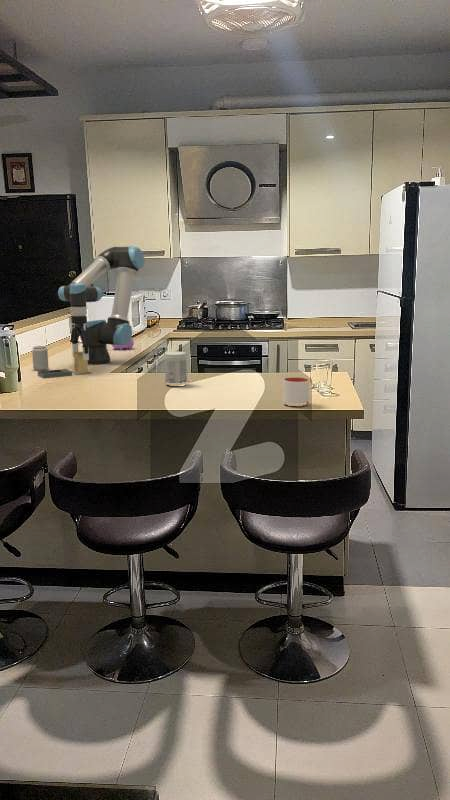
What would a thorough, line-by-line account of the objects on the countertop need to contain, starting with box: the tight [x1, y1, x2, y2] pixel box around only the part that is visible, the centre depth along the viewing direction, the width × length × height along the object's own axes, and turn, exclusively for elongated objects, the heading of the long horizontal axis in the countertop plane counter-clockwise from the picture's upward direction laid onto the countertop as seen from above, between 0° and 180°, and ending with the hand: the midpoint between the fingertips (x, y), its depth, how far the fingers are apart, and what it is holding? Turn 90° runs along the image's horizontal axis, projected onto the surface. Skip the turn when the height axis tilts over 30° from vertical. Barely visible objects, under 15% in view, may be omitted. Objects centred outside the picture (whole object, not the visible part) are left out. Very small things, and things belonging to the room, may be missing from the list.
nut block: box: [73, 350, 89, 373], centre depth 306 cm, size 5×5×10 cm
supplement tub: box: [164, 351, 188, 383], centre depth 275 cm, size 10×10×15 cm
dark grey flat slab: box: [37, 368, 73, 379], centre depth 299 cm, size 14×9×2 cm, turn 124°
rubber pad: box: [72, 370, 93, 376], centre depth 307 cm, size 8×8×1 cm
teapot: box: [111, 336, 135, 351], centre depth 390 cm, size 20×14×12 cm
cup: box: [282, 376, 310, 403], centre depth 239 cm, size 10×10×10 cm
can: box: [31, 345, 49, 372], centre depth 314 cm, size 8×8×12 cm
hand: (80, 358), depth 305 cm, fingers open, 13 cm apart
